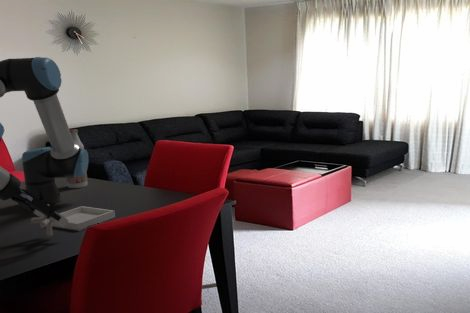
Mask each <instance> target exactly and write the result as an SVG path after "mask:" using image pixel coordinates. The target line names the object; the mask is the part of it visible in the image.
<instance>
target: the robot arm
mask: <svg viewBox="0 0 470 313" xmlns="http://www.w3.org/2000/svg"><path fill="white" fill-rule="evenodd" d="M61 76H62V74H61V71H60V68H59V66H58V65H57V63H56V62H55V61H54V60H53V59H52V58H49V57H42V56H36V57H26V58H25V57H24V58H6V59H4V60H3V59H2V60H0V99H1V98H2V97H4V95H5V94H7V93H10V92H11V93H12V92H24V93H25V95H26V98H27V99H28V100H30V101H32V102H33V104H34V107H35V109H36V112H37V114H38V116H39V119H40V121H41V124H42V126H43V128H44V131H45V134H46V136H47V138H48V141H49V143H50V146H44V147H38V148H35V149H34V148H33V149H29V150H26V151H24V152H23V153H22V157H21V159H22V161H21V162H22V163H21V164H22V170H23V178H24V184H25V188H20V187H21V180H20V179H19V178H18V177H17V176H15V175H13V174H12V173H10V172H9V171H8V170H7V169H5V168H3V167H2V166H1V165H0V200H1V201H7V200H11V201H13V202H15V203H17V204H18V205H19V206H21V207H23V208H24V209H25V210H27V211H29V212H32V213H33V214H34V215H36V216H38V218H41V217H44V214H45V215H46V216H47V218H46V219H51V220H52V221H54V222H55V223H57V224H58V225H60V226H61V227H63V228H62V229H64V226H65V225H66V223H67V222H68V219H66V218H65V217H63V216H62V215H60V214H59V212H57V211H56V209H55V208H54V207H52V206H50V205H53V204H58V203H60V202H61V201H62V195H61V193H60V191H59V188H58V186H57V184H56V180H55V179H57V178H58V179H61V178H62V179H63V178H65V179H67V178H71V177H74V178H75V177H82V176H84V175H85V174H86V172H87V171H88V167H89V152H88V150H87V149H85V148H84V149H80V147H79V144H78V143H77V142H75V141H73V138H72V136H71V133H70V130H71V129H70V128H69V125H68V122H67V119H66V117H65V114H64V110H63V109H62V106H61V103H60V100H59V97H58V93H59V91H60V88H61V85H62V77H61ZM4 133H5V128H4V126H3V124H2V123H1V122H0V142H1V143H2V139H3V137H4ZM47 204H49V205H47Z"/></svg>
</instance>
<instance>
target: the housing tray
mask: <svg viewBox="0 0 470 313" xmlns="http://www.w3.org/2000/svg"><path fill="white" fill-rule="evenodd" d="M58 213H59V212H58ZM59 214H60V215H62V216H64V217H65V218H66V219H68V222H67V223H66V225H65V226H64V228H63V227H61V226H60V225H58V224H57V223H55V222H51V224H52V228H53V227H54V228H59V229H65V230H71V231H76V232H80V231H82V230H86V229H88V228H89V227H88V226H90V225H93V224H96V225H98V224H97V223H99V224H101V223H104V222H107V221H109V220H111V219H114V218H116V213H115V210H112V209H107V208H105V209H104V208H100V207H99V208H97V207H91V206H85V205H84V206H83V205H81V206H78V207H75V208H72V209H69V210H66V211H63V212H60V213H59ZM93 226H94V225H93ZM87 227H88V228H87Z"/></svg>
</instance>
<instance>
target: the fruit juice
mask: <svg viewBox="0 0 470 313" xmlns="http://www.w3.org/2000/svg"><path fill="white" fill-rule="evenodd" d="M69 130H70V133H71V136H72V138H73V141H75V142H77V143H78V144H79V147H80V149H85V146H84V144H83V142H82V141H81V139H80V137H79V135H78V133H79V132H78V129H69ZM66 184H67V188H69V189H79V188H84V187H87V186H88V174H87V172H86V174H85V175H84V176H82V177H75V178H74V177H71V178H66Z"/></svg>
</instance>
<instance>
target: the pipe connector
mask: <svg viewBox="0 0 470 313" xmlns="http://www.w3.org/2000/svg"><path fill="white" fill-rule="evenodd" d="M47 205H49V204H47ZM49 206H50V205H49ZM63 217H64V216H63ZM46 218H47V216H46V215H45V214H44V217H41V218H40V217H31V218H30V224H39V227H40V228H42V229H44V228H45V233H46V237H51V236H53V235H54V233H53V226H52V224H51V222H54V221H52V220H51V219H46Z"/></svg>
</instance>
